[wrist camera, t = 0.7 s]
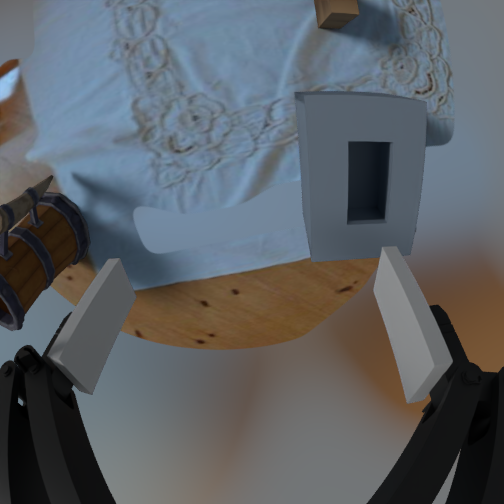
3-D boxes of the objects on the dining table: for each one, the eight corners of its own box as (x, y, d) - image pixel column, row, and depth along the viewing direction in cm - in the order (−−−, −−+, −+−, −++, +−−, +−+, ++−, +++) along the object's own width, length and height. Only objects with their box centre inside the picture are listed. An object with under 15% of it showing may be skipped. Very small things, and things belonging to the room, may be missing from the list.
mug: (33, 156, 34) (-54, 213, 17) (96, 179, 36) (6, 257, 19) (35, 244, 44) (-23, 310, 27) (89, 272, 46) (35, 353, 30)
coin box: (294, 92, 28) (304, 95, 19) (383, 93, 27) (426, 101, 18) (302, 213, 37) (311, 261, 28) (380, 209, 36) (410, 255, 27)
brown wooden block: (312, -10, 20) (322, -34, 14) (333, -9, 20) (350, -32, 13) (318, 27, 23) (331, 12, 17) (340, 28, 23) (359, 14, 16)
